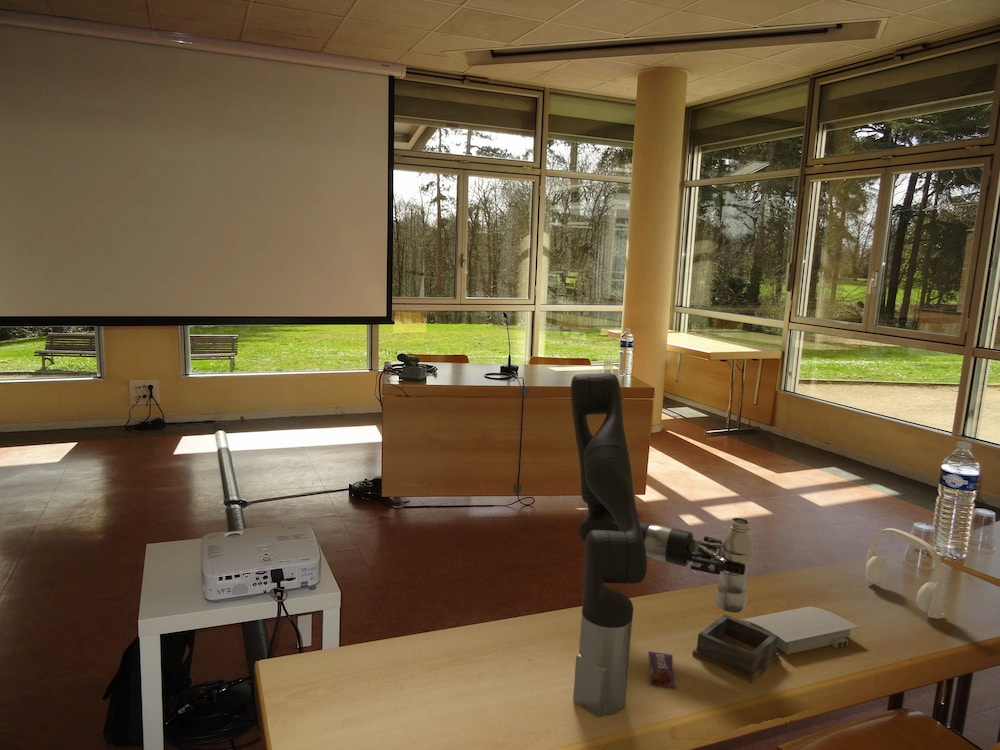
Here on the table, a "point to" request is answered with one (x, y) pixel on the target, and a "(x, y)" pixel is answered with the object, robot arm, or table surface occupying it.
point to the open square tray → (737, 647)
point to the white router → (804, 628)
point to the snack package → (661, 669)
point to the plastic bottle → (737, 550)
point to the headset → (930, 591)
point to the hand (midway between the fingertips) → (747, 563)
